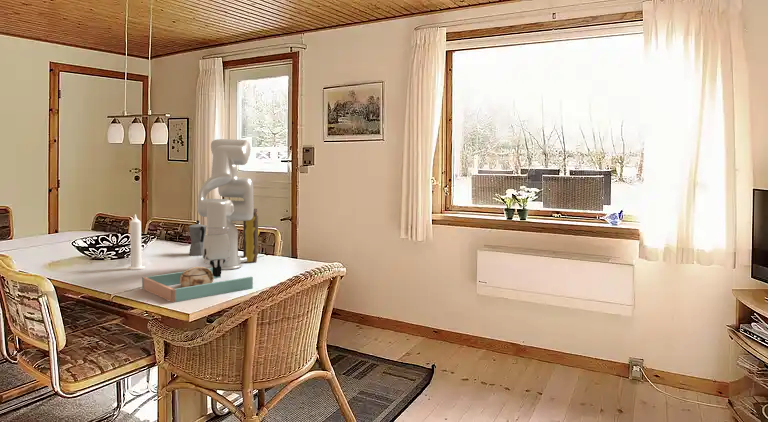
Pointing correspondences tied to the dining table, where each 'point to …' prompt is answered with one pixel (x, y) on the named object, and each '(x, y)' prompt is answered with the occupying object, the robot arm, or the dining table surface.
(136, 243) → the candle
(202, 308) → the dining table surface
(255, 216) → the book
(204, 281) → the trinket box
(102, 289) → the dining table surface
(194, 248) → the coffeepot
